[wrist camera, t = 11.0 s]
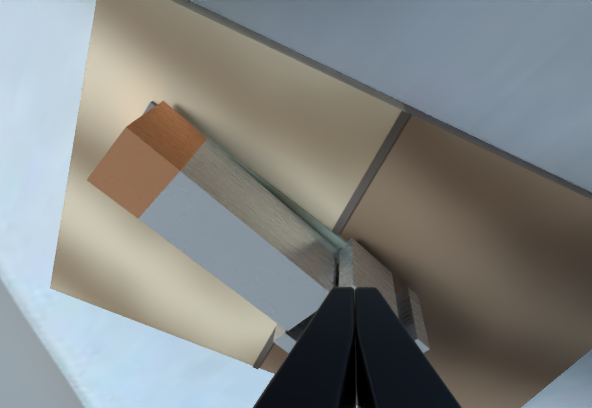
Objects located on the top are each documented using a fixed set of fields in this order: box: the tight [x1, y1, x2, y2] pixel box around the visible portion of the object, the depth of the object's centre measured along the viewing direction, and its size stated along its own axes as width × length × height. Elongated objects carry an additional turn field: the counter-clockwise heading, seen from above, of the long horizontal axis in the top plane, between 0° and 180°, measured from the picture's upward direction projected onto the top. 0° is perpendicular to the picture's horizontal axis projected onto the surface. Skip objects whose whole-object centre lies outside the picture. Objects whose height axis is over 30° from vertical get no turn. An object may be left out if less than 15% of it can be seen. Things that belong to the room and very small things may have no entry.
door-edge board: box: [50, 0, 592, 408], centre depth 17 cm, size 15×24×6 cm, turn 67°
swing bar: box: [87, 101, 430, 353], centre depth 16 cm, size 13×4×3 cm, turn 47°
